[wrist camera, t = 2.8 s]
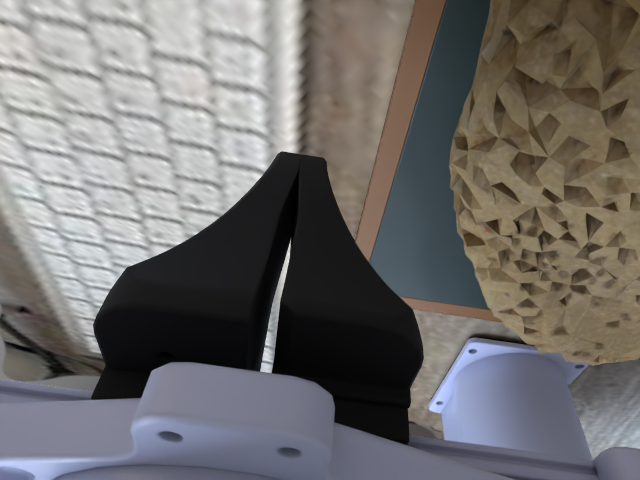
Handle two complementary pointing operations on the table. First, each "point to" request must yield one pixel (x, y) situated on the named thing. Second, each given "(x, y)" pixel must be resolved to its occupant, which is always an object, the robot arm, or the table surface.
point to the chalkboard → (426, 165)
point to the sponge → (555, 175)
